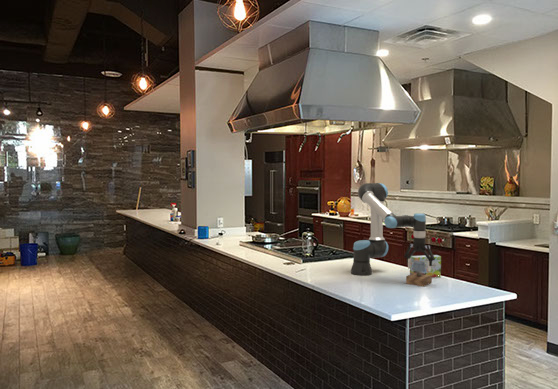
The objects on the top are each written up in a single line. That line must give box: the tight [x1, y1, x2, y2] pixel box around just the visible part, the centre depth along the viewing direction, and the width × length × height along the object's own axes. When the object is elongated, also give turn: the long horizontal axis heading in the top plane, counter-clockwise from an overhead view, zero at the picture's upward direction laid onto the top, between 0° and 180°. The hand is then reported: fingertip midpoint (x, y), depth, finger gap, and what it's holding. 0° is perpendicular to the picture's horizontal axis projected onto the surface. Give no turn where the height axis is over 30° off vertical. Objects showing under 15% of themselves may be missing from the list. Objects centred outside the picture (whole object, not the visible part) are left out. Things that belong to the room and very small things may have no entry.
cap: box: [413, 260, 425, 272], centre depth 316 cm, size 7×7×6 cm
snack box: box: [409, 254, 442, 279], centre depth 336 cm, size 21×6×15 cm, turn 105°
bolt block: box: [405, 271, 433, 287], centre depth 316 cm, size 12×12×13 cm
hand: (419, 269), depth 316 cm, fingers open, 13 cm apart
